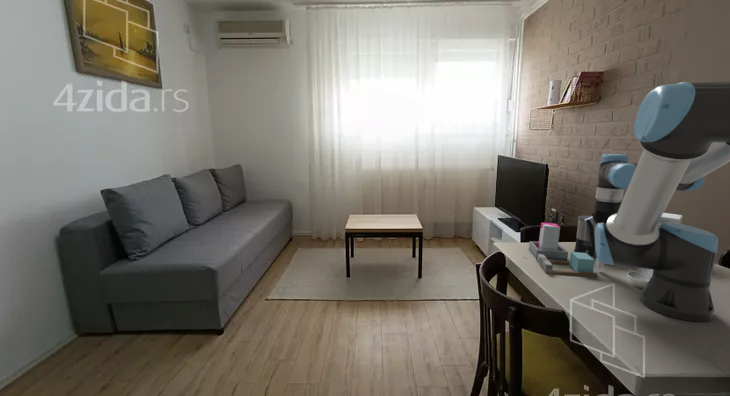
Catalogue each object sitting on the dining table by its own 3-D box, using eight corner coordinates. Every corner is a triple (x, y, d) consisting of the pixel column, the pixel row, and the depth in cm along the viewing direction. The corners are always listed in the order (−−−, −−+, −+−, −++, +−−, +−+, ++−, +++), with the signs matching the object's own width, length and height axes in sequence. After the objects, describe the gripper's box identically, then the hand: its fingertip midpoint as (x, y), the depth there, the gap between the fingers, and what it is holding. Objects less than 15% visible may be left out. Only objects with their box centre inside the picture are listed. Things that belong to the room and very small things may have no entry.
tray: (567, 260, 130) (568, 252, 130) (536, 258, 132) (536, 250, 132) (557, 251, 141) (558, 243, 140) (528, 249, 143) (529, 241, 142)
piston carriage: (592, 273, 118) (594, 259, 117) (576, 272, 119) (578, 258, 118) (584, 266, 125) (586, 252, 124) (569, 264, 126) (570, 251, 125)
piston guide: (597, 277, 116) (598, 268, 115) (545, 273, 119) (546, 264, 119) (583, 264, 127) (584, 257, 126) (536, 261, 130) (537, 253, 129)
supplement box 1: (557, 255, 133) (560, 227, 131) (540, 254, 135) (543, 225, 133) (553, 250, 139) (556, 223, 137) (537, 249, 140) (540, 222, 138)
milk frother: (576, 256, 136) (581, 219, 133) (566, 244, 150) (570, 211, 148) (618, 260, 131) (624, 222, 129) (604, 247, 146) (609, 213, 143)
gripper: (591, 201, 114) (582, 268, 118) (636, 203, 111) (625, 271, 116) (582, 197, 121) (574, 260, 125) (624, 198, 118) (614, 263, 123)
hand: (599, 265), depth 120 cm, fingers closed
